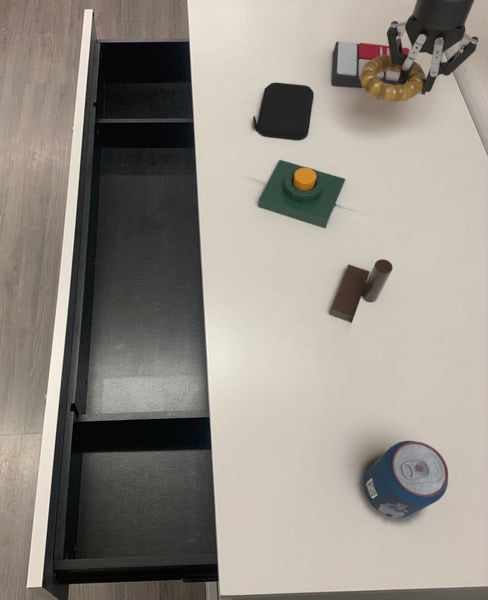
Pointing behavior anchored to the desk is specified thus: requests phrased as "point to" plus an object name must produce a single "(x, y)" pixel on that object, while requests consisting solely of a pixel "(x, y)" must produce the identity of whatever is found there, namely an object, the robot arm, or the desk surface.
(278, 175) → the green push button box
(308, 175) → the button
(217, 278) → the desk surface
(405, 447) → the soda can
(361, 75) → the ring
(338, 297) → the stand
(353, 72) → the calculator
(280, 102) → the carrying case
